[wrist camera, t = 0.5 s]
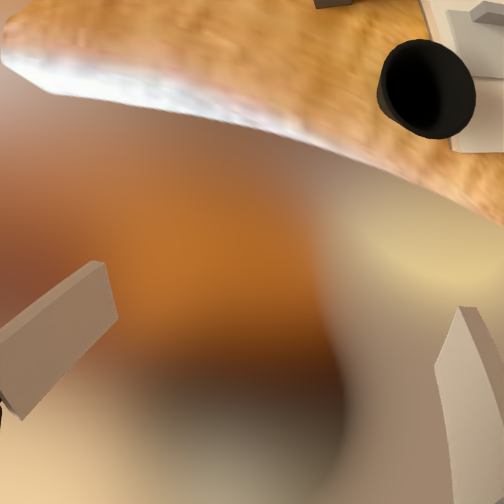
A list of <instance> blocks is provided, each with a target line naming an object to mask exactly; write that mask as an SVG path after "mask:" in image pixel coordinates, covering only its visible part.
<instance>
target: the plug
mask: <svg viewBox="0 0 504 504" xmlns="http://www.w3.org/2000/svg"><path fill="white" fill-rule="evenodd" d="M313 1H314V4H315V7H316V9H320V8H327V7H335V6H344V5H351V4H352V0H313Z"/></svg>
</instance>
